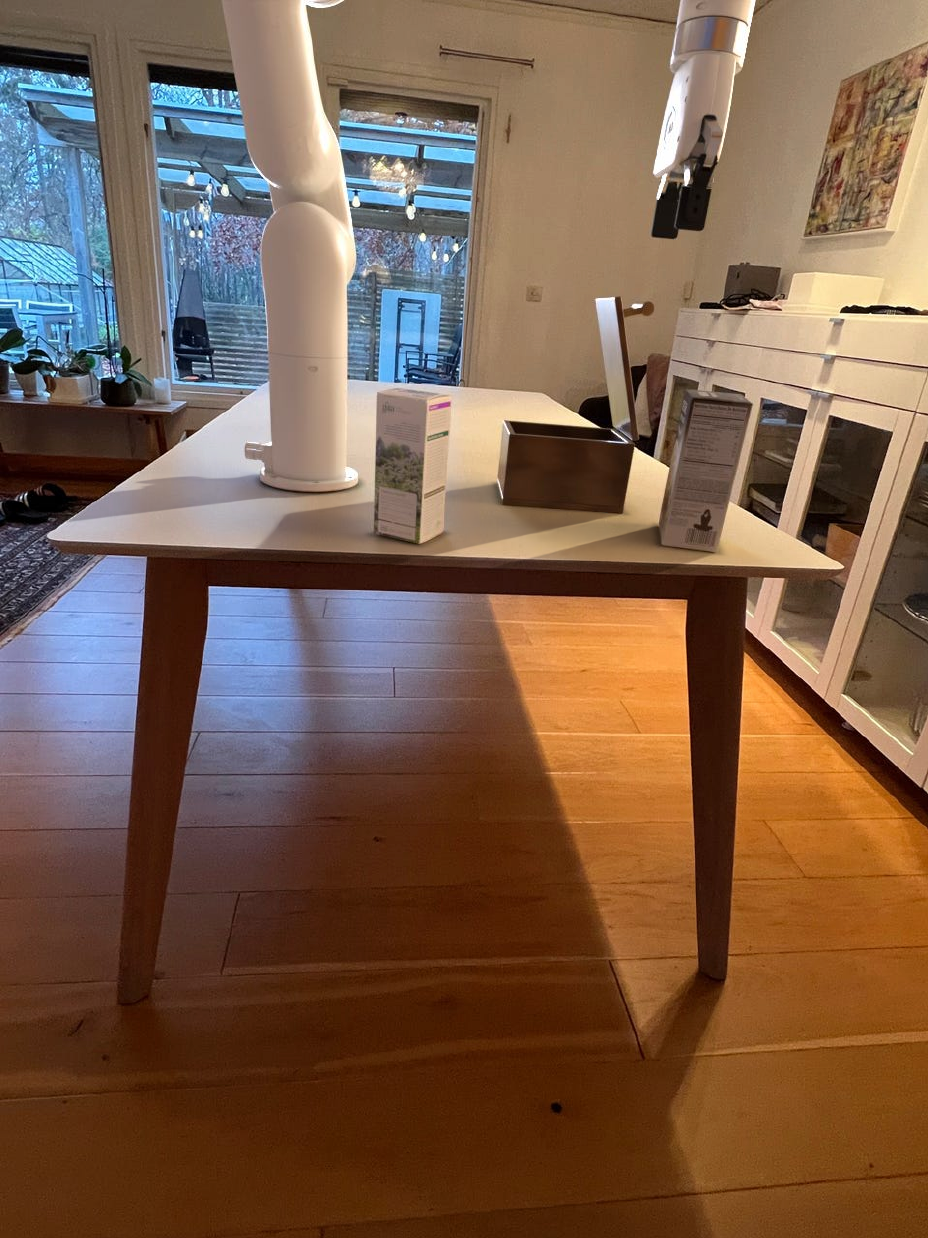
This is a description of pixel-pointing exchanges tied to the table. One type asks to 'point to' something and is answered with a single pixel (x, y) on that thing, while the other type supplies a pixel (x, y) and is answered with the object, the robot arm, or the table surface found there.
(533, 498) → the brown wooden box
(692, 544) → the coffee box
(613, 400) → the lid
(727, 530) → the table surface
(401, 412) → the syrup box
